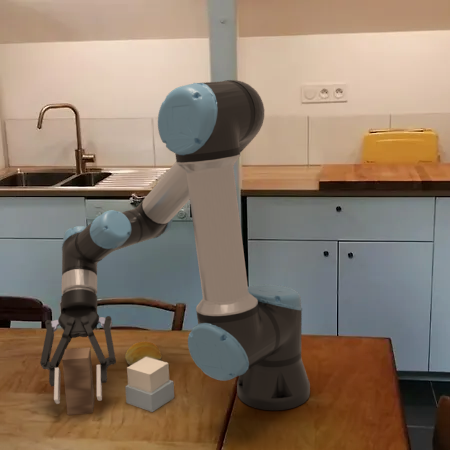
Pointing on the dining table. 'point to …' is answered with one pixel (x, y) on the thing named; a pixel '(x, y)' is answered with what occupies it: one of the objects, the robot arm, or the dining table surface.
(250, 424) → the dining table surface
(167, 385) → the tower base
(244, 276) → the robot arm
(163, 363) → the tower top
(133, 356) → the bread roll
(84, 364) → the pillar
